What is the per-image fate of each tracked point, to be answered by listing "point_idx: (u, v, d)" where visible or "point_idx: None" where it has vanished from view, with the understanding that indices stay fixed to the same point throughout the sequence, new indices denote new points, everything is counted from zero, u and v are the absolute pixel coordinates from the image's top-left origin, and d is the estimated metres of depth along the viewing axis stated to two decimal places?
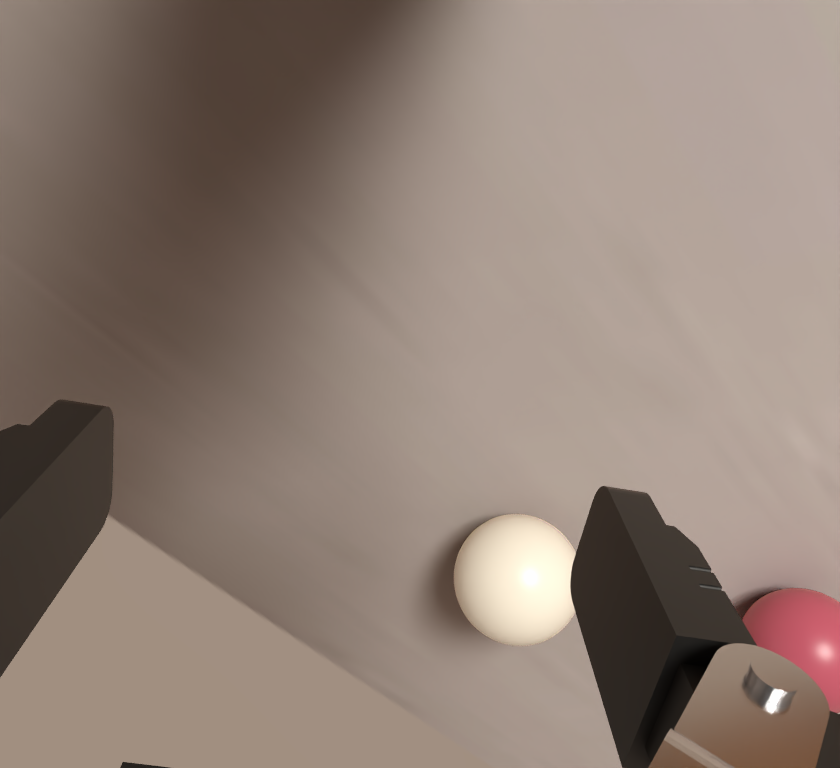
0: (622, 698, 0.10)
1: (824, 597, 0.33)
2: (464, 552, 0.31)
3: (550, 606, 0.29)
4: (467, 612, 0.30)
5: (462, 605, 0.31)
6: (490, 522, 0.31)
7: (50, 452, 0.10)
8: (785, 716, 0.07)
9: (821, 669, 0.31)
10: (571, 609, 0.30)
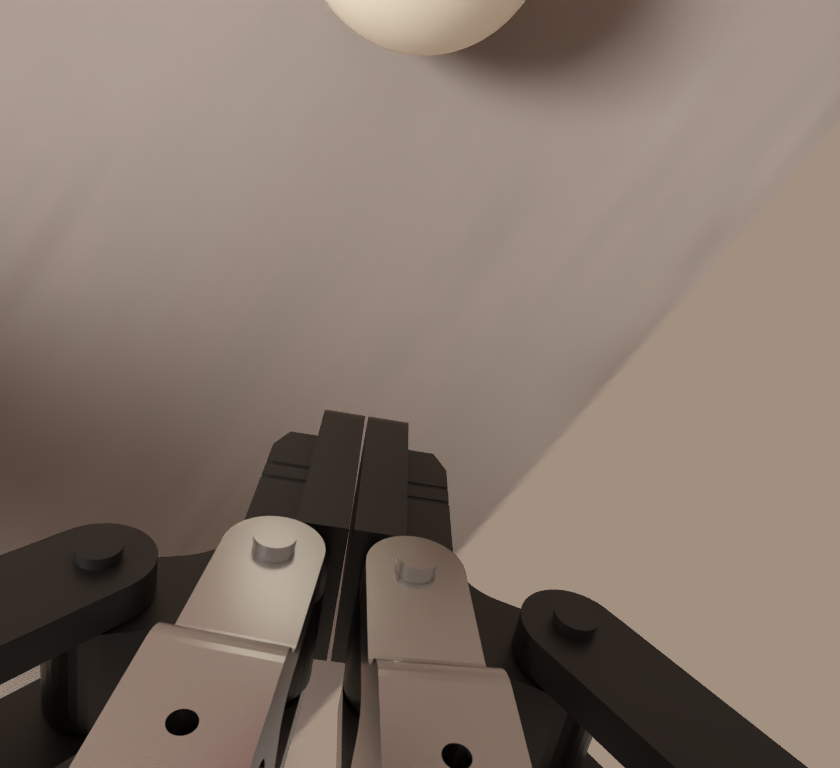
0: (340, 600, 0.10)
1: None
2: (375, 43, 0.16)
3: None
4: (464, 21, 0.15)
5: (461, 33, 0.15)
6: None
7: (349, 457, 0.11)
8: (412, 590, 0.08)
9: None
10: None
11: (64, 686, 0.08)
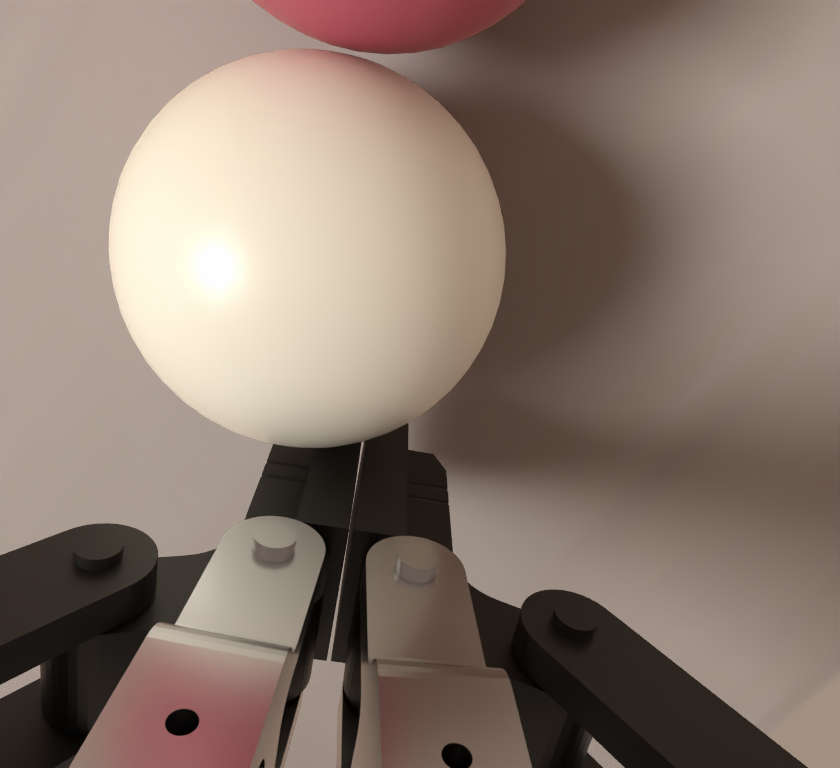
0: (340, 600, 0.10)
1: None
2: (223, 225, 0.08)
3: None
4: (401, 121, 0.08)
5: (397, 144, 0.08)
6: (135, 300, 0.09)
7: (349, 457, 0.11)
8: (412, 589, 0.08)
9: None
10: None
11: (64, 686, 0.08)
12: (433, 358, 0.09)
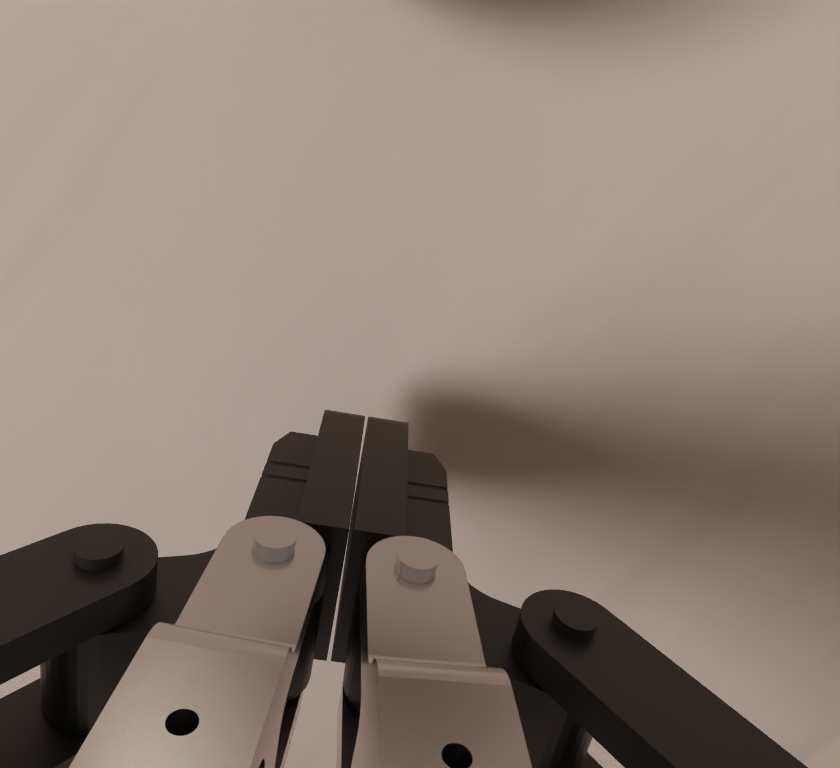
0: (340, 600, 0.10)
1: None
2: None
3: None
4: None
5: None
6: None
7: (349, 457, 0.11)
8: (412, 590, 0.08)
9: None
10: None
11: (64, 686, 0.08)
12: None
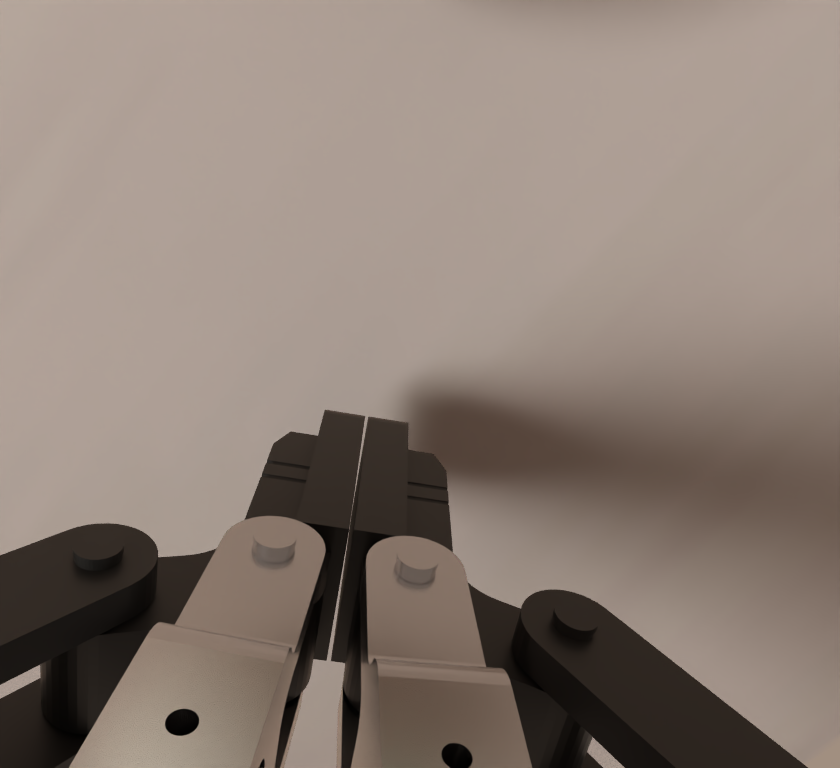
0: (340, 600, 0.10)
1: None
2: None
3: None
4: None
5: None
6: None
7: (349, 457, 0.11)
8: (412, 590, 0.08)
9: None
10: None
11: (64, 686, 0.08)
12: None
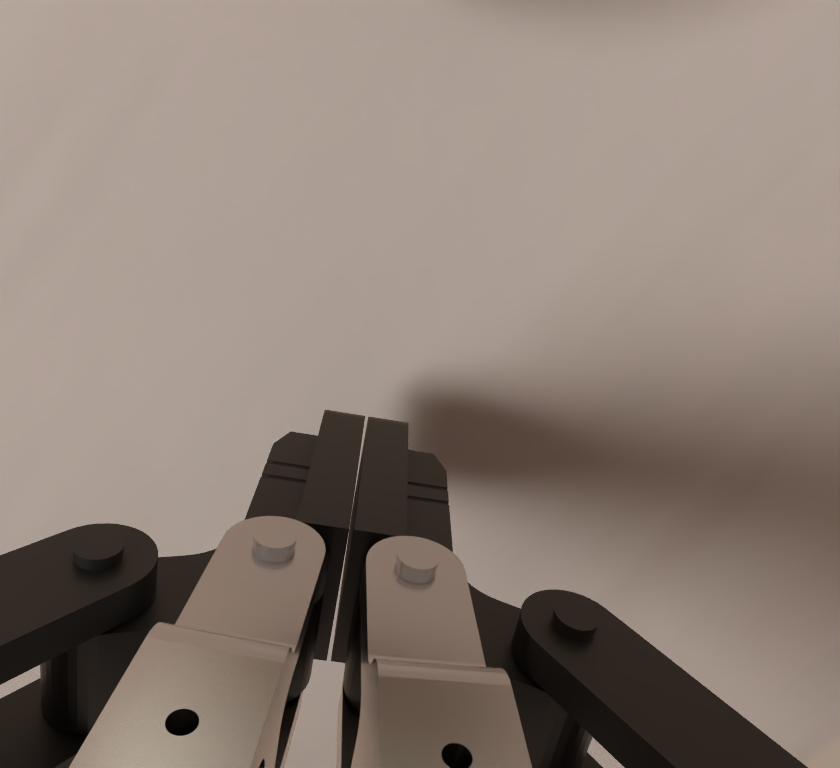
0: (340, 600, 0.10)
1: None
2: None
3: None
4: None
5: None
6: None
7: (349, 457, 0.11)
8: (412, 590, 0.08)
9: None
10: None
11: (64, 686, 0.08)
12: None
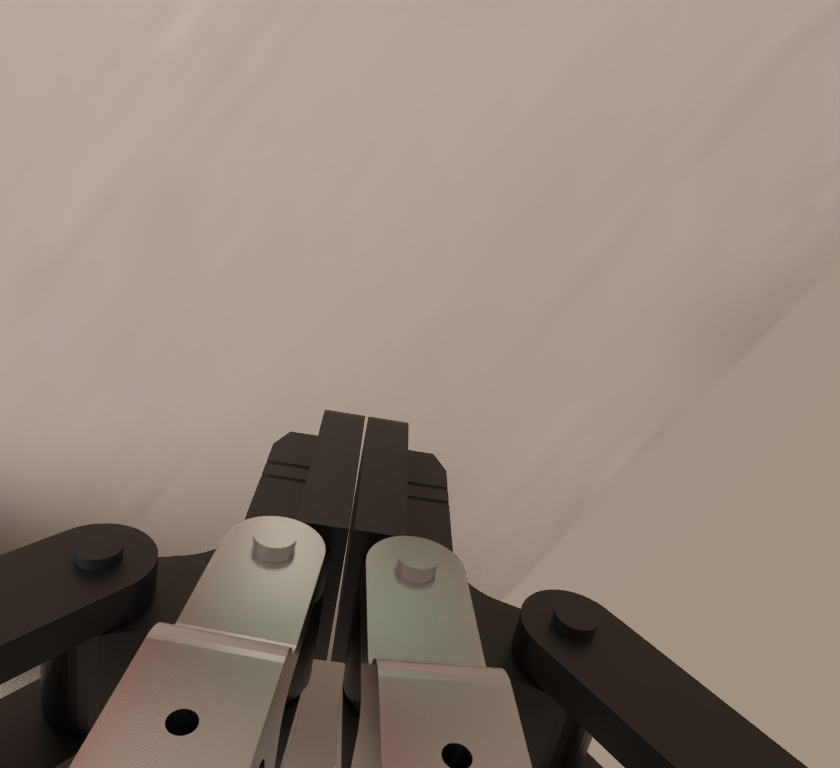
0: (340, 600, 0.10)
1: None
2: None
3: None
4: None
5: None
6: None
7: (349, 458, 0.11)
8: (412, 590, 0.08)
9: None
10: None
11: (64, 686, 0.08)
12: None
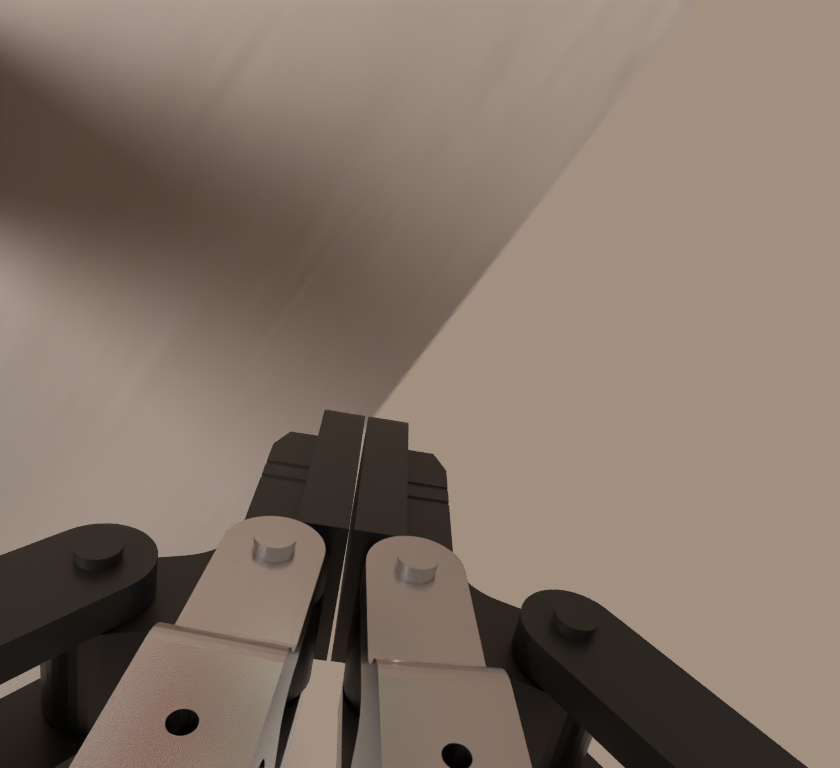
0: (340, 600, 0.10)
1: None
2: None
3: None
4: None
5: None
6: None
7: (349, 458, 0.11)
8: (412, 590, 0.08)
9: None
10: None
11: (64, 686, 0.08)
12: None
